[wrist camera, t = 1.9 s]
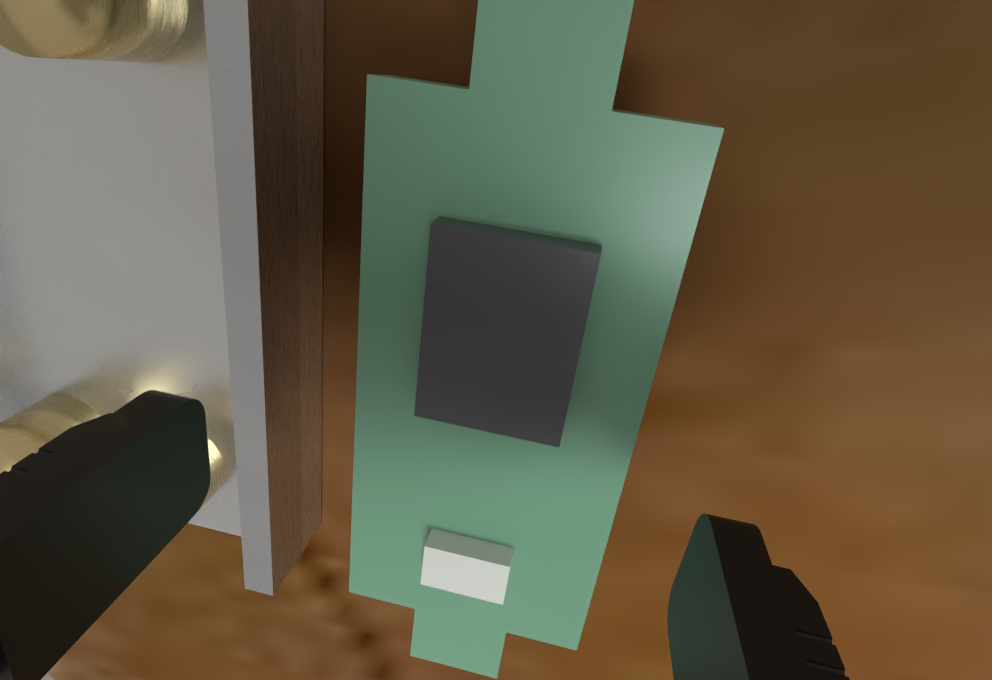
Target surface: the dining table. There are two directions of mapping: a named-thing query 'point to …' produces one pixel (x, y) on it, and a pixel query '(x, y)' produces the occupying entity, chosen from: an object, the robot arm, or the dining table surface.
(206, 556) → the dining table surface
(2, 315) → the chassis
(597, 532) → the board
